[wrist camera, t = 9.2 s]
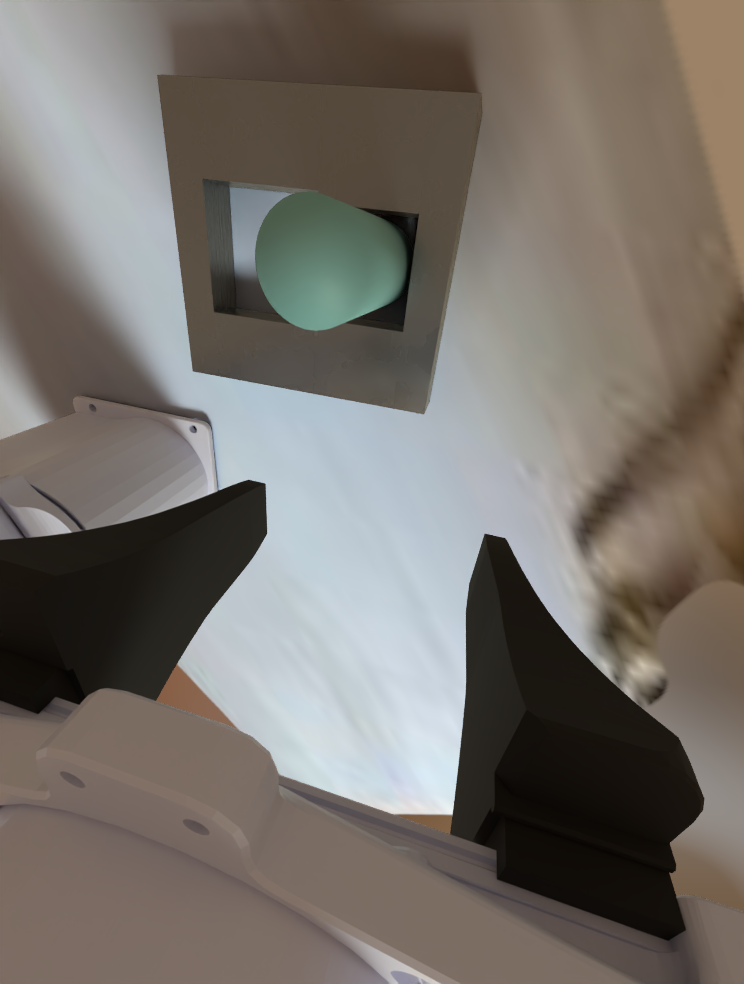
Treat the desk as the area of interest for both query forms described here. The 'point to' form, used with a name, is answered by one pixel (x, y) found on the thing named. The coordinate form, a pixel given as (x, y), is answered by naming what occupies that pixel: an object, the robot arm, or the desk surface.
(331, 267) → the peg
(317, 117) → the keyhole plate
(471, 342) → the desk surface
